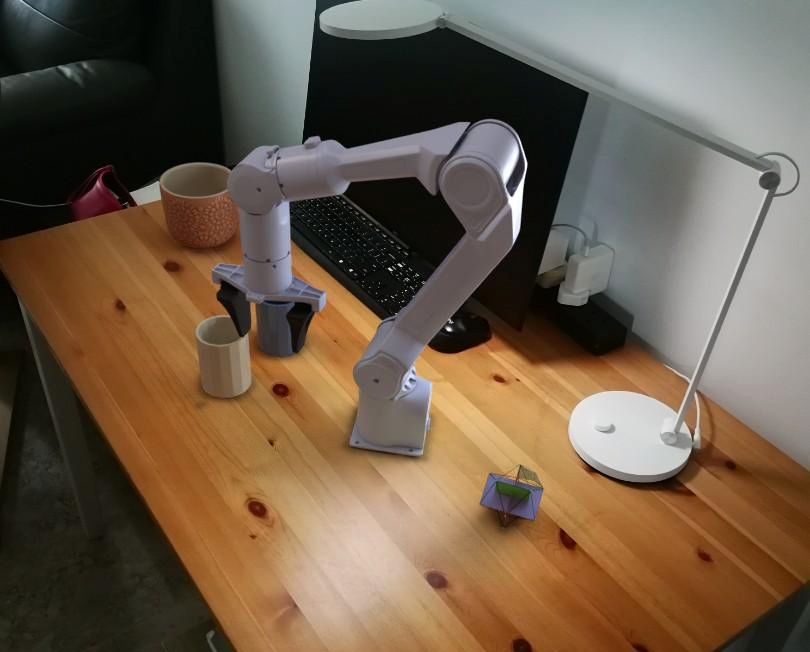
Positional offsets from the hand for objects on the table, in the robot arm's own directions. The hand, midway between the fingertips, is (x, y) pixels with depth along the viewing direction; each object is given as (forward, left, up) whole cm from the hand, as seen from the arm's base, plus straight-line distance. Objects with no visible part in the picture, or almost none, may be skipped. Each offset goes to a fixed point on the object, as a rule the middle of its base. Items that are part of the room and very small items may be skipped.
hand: (271, 340), depth 108 cm
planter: (+22, -37, -11) cm, 45 cm away
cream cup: (+7, -2, -10) cm, 13 cm away
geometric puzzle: (-33, +14, -11) cm, 37 cm away
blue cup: (+2, -12, -10) cm, 16 cm away
